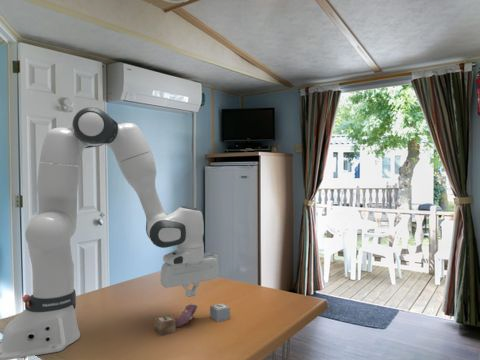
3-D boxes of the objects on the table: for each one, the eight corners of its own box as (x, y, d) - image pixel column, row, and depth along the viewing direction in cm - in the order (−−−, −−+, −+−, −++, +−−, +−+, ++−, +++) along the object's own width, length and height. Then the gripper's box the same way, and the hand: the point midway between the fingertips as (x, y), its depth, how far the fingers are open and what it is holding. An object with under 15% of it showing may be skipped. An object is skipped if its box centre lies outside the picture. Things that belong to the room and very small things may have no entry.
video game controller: (183, 333, 119) (192, 314, 119) (171, 325, 120) (180, 307, 119) (192, 321, 129) (201, 303, 128) (181, 314, 130) (190, 297, 129)
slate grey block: (217, 322, 124) (217, 309, 124) (210, 317, 129) (210, 305, 129) (229, 319, 127) (229, 306, 127) (222, 314, 131) (222, 302, 131)
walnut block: (160, 336, 114) (160, 322, 113) (154, 330, 118) (154, 317, 118) (175, 333, 116) (175, 319, 116) (169, 327, 120) (169, 314, 120)
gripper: (213, 249, 132) (213, 288, 132) (158, 256, 121) (158, 299, 121) (222, 252, 127) (222, 292, 127) (165, 260, 116) (166, 304, 116)
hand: (190, 296), depth 124 cm, fingers closed
